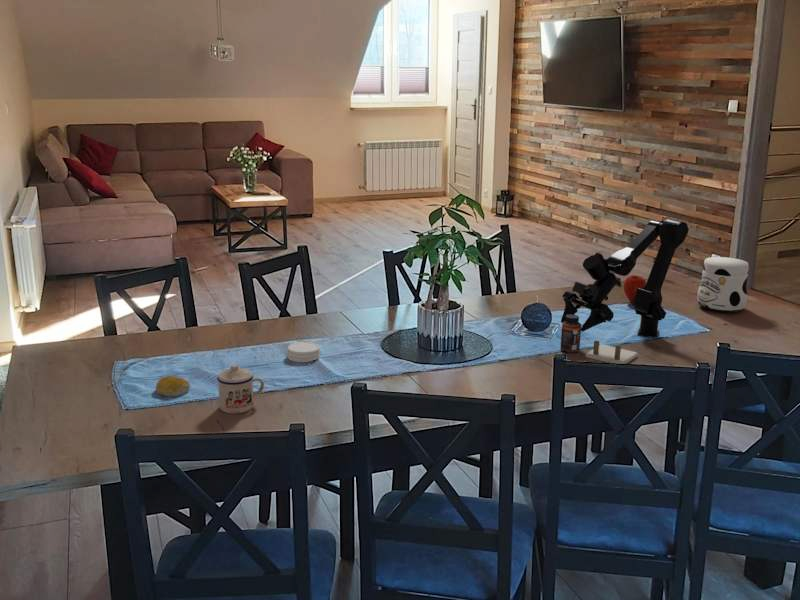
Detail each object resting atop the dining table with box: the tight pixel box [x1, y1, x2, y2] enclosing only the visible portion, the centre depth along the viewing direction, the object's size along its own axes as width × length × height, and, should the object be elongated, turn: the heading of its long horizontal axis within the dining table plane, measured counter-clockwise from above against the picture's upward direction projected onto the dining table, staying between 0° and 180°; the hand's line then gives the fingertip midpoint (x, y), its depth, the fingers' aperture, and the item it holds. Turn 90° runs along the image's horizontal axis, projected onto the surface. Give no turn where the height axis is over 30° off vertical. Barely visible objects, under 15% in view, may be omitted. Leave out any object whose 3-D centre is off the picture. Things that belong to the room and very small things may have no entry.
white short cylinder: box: [286, 341, 321, 363], centre depth 246 cm, size 10×10×4 cm
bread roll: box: [155, 375, 191, 398], centre depth 220 cm, size 8×9×4 cm
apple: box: [623, 274, 647, 304], centre depth 304 cm, size 9×8×11 cm
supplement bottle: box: [560, 314, 582, 354], centre depth 253 cm, size 6×6×11 cm
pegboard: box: [585, 340, 638, 364], centre depth 249 cm, size 11×12×5 cm
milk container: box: [696, 256, 750, 313], centre depth 297 cm, size 17×17×18 cm
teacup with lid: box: [216, 364, 265, 415], centre depth 209 cm, size 12×9×12 cm
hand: (571, 326), depth 252 cm, fingers open, 9 cm apart
